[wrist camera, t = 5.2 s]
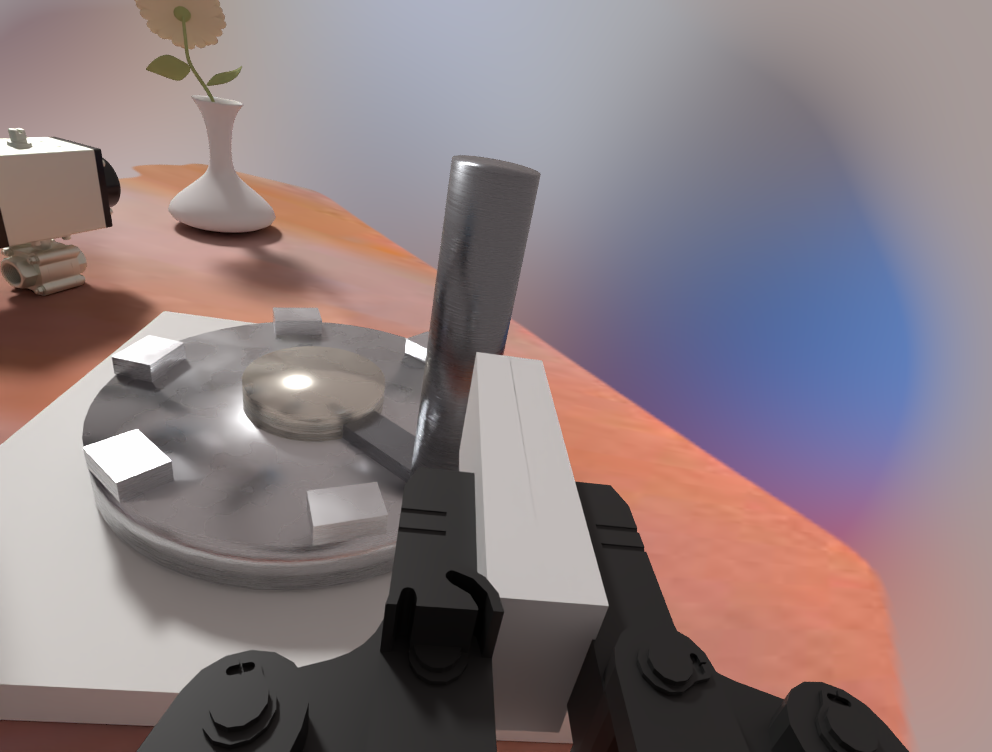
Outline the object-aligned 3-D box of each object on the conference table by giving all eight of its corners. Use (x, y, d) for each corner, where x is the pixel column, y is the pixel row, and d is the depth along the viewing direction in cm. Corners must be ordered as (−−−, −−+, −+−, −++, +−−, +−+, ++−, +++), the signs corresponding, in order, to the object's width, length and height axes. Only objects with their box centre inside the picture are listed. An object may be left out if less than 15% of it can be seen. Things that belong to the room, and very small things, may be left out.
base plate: (-245, 709, 17) (-279, 666, 16) (166, 335, 42) (164, 308, 41) (604, 744, 21) (620, 711, 20) (527, 382, 46) (533, 358, 45)
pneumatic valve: (134, 275, 50) (115, 133, 44) (-5, 316, 40) (-53, 139, 34) (85, 259, 51) (60, 119, 45) (-63, 296, 41) (-119, 120, 35)
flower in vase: (285, 221, 72) (284, -6, 61) (261, 247, 62) (255, -20, 51) (177, 206, 70) (155, -34, 58) (135, 229, 60) (98, -53, 48)
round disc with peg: (-29, 568, 20) (-225, 61, 13) (197, 337, 38) (173, 65, 30) (507, 608, 23) (618, 209, 15) (487, 375, 41) (534, 134, 33)
